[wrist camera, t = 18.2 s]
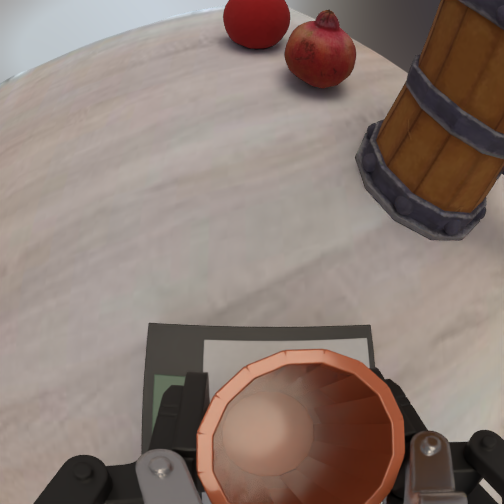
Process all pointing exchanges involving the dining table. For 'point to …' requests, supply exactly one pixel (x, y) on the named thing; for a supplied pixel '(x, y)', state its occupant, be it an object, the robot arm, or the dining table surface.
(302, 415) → the cup
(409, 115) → the mug
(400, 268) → the dining table surface
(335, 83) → the fruit
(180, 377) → the scale
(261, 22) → the apple
